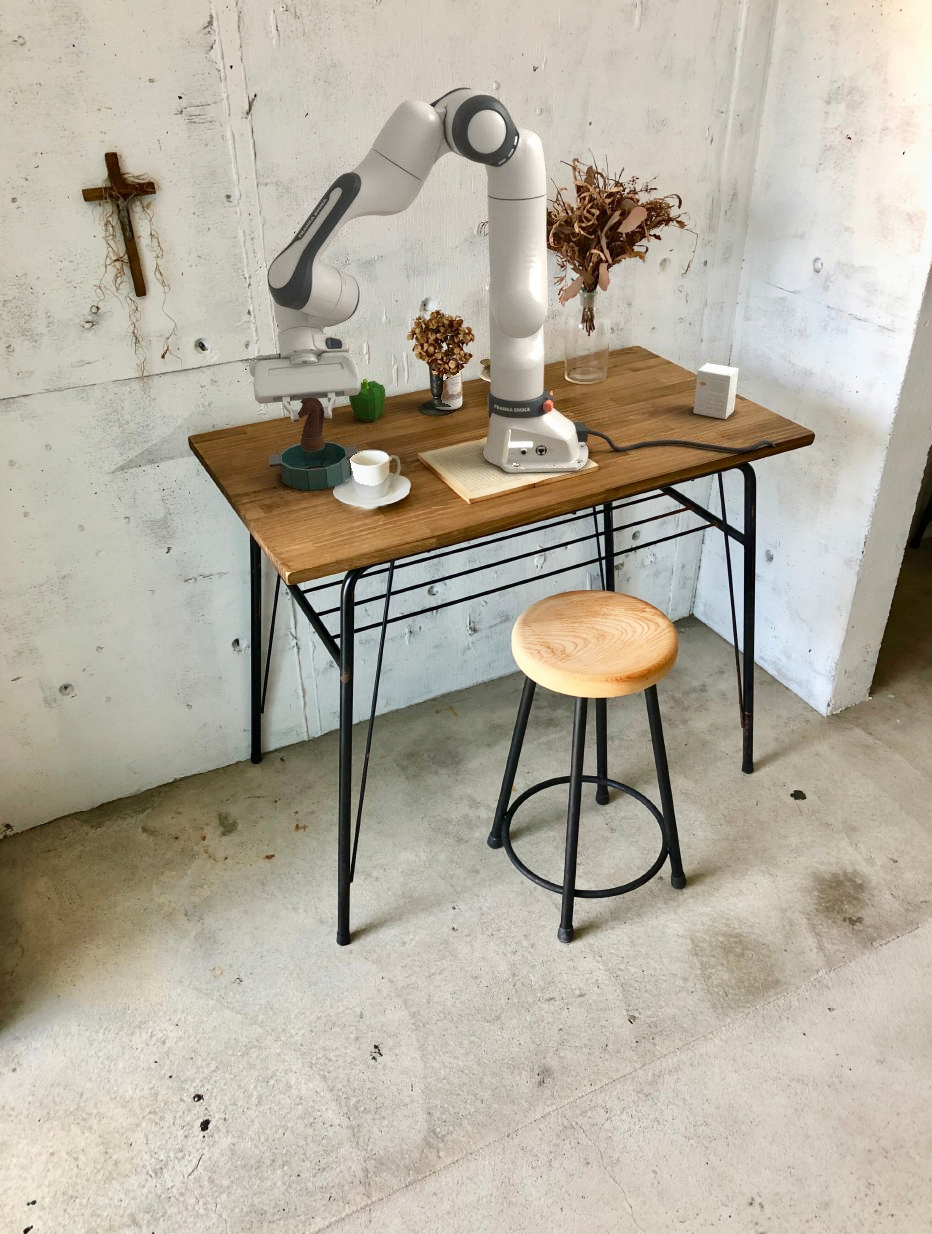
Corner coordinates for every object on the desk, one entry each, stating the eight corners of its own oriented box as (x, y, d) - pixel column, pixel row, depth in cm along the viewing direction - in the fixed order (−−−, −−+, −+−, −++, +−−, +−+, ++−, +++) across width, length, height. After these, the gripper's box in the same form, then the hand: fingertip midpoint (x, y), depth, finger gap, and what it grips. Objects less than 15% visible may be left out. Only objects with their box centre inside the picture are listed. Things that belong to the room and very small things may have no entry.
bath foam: (443, 413, 239) (440, 329, 227) (428, 404, 243) (424, 321, 232) (468, 406, 242) (466, 323, 231) (452, 397, 246) (450, 315, 235)
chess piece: (298, 444, 197) (292, 395, 191) (324, 439, 198) (319, 391, 193) (304, 453, 193) (298, 403, 188) (330, 449, 195) (324, 399, 189)
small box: (734, 411, 236) (740, 368, 230) (725, 420, 232) (731, 375, 226) (701, 405, 240) (706, 362, 234) (692, 413, 236) (697, 369, 230)
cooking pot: (363, 485, 208) (361, 464, 205) (273, 494, 205) (270, 474, 203) (355, 456, 219) (354, 437, 217) (270, 465, 217) (267, 445, 214)
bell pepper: (360, 409, 242) (357, 368, 236) (391, 413, 239) (389, 372, 233) (344, 422, 235) (340, 380, 230) (376, 427, 233) (373, 385, 227)
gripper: (246, 348, 190) (254, 417, 187) (355, 339, 193) (365, 407, 191) (249, 363, 196) (257, 430, 193) (354, 354, 199) (364, 420, 197)
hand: (311, 419), depth 192 cm, fingers closed on chess piece, 5 cm apart
